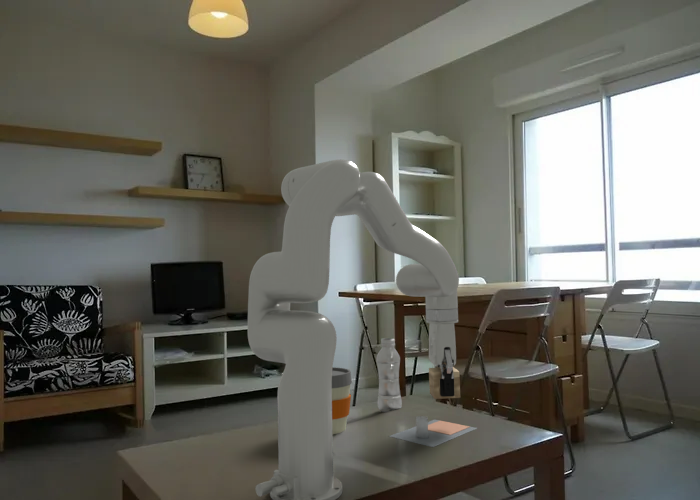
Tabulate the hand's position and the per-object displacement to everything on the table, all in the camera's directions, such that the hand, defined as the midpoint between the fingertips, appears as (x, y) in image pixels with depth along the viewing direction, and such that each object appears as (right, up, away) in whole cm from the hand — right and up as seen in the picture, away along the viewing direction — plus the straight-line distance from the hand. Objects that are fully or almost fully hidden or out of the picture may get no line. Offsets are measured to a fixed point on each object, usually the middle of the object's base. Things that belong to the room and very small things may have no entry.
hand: (444, 392), depth 128 cm
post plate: (-3, -10, -4) cm, 11 cm away
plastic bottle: (-11, -11, +21) cm, 26 cm away
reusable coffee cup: (-28, -11, 0) cm, 30 cm away
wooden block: (0, -1, 0) cm, 1 cm away
